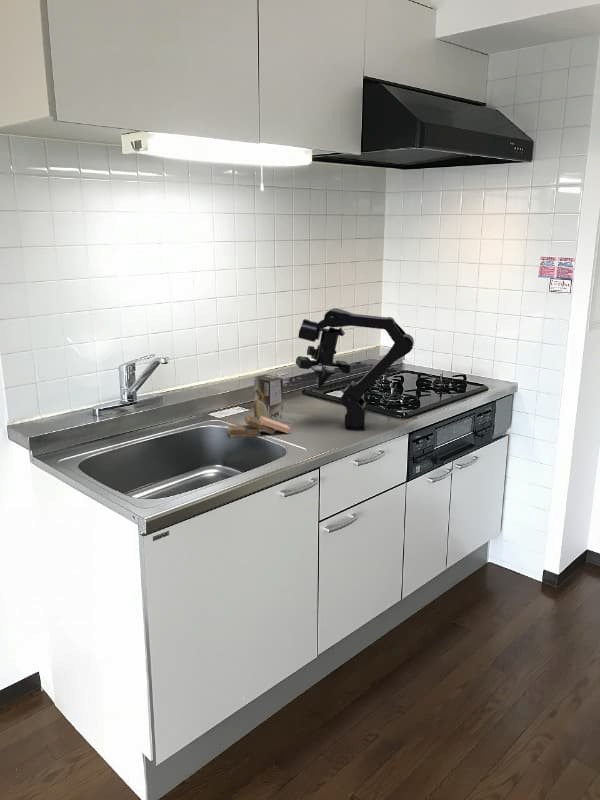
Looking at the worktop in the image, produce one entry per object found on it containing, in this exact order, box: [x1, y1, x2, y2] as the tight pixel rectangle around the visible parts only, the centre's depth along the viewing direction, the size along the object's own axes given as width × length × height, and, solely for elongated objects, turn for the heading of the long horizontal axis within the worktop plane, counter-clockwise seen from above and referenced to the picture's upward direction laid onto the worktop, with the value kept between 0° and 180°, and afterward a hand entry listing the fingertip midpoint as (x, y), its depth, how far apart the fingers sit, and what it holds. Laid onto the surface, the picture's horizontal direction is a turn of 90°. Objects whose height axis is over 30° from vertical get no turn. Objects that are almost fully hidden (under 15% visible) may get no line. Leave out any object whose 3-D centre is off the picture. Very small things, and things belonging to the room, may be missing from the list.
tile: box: [259, 416, 291, 435], centre depth 222 cm, size 2×5×10 cm
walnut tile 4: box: [229, 432, 262, 439], centre depth 220 cm, size 2×5×10 cm
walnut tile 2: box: [244, 414, 276, 436], centre depth 220 cm, size 2×5×10 cm
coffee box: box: [253, 374, 284, 424], centre depth 233 cm, size 9×6×16 cm
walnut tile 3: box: [227, 424, 261, 436], centre depth 220 cm, size 2×5×10 cm
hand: (318, 388), depth 229 cm, fingers closed
